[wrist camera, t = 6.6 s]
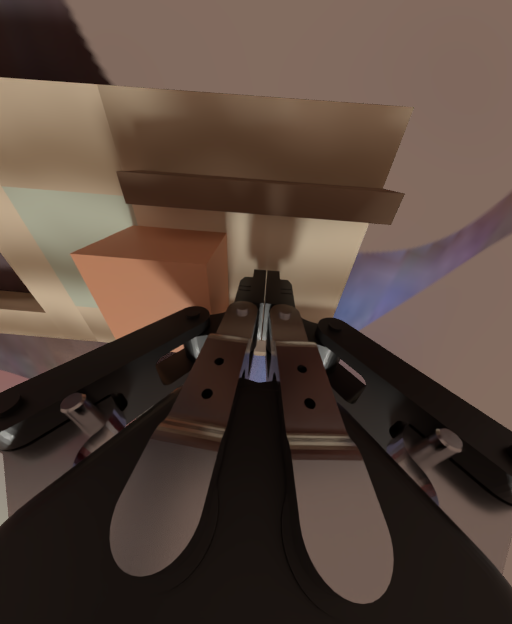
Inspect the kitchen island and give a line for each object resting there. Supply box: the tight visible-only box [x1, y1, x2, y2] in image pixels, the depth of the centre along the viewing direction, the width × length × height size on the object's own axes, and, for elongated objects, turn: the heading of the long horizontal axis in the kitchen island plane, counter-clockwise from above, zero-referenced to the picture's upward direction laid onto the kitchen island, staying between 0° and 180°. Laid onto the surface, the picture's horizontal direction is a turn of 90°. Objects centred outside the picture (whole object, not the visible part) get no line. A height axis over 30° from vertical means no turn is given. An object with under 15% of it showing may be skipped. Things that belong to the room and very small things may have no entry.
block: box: [70, 225, 229, 352], centre depth 11 cm, size 6×6×4 cm
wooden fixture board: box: [0, 77, 414, 356], centre depth 13 cm, size 16×35×4 cm, turn 87°
